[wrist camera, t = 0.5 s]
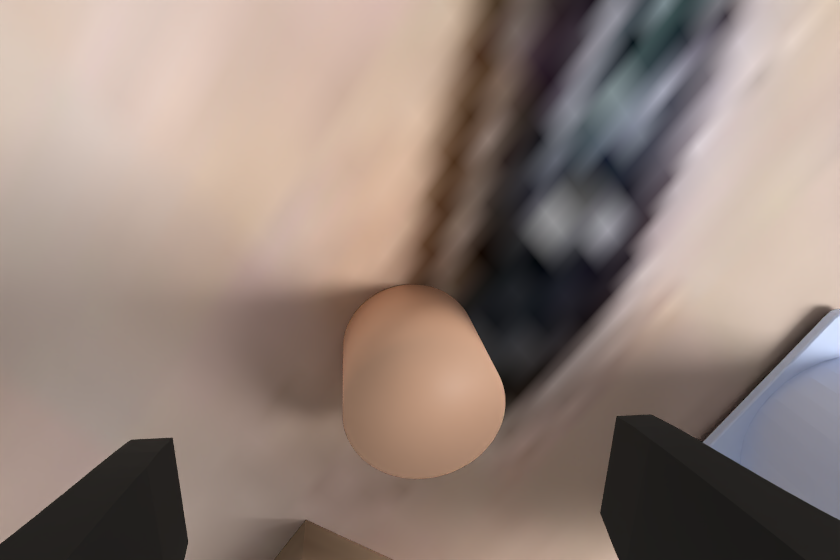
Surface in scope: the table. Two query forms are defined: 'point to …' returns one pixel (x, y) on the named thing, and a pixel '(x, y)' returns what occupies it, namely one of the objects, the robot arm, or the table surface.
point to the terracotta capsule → (418, 384)
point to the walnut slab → (324, 546)
